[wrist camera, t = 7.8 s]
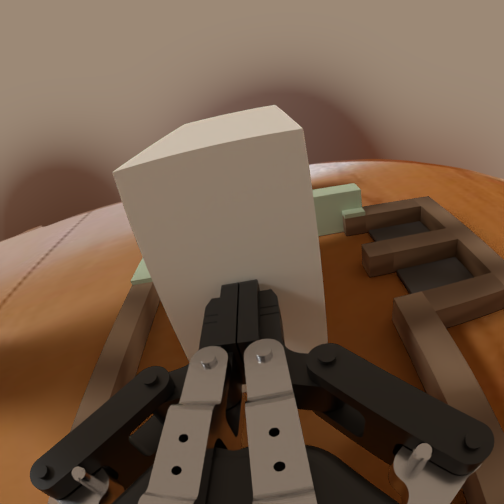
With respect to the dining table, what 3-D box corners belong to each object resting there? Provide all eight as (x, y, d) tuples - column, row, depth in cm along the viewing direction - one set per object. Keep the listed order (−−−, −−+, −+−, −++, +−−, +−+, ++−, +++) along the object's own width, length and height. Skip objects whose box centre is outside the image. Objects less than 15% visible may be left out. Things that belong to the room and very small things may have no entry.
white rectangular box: (330, 379, 17) (304, 128, 10) (205, 395, 17) (111, 172, 11) (301, 253, 29) (275, 104, 23) (222, 267, 29) (184, 124, 23)
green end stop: (384, 259, 25) (384, 214, 23) (140, 301, 27) (122, 263, 25) (357, 219, 32) (354, 183, 30) (160, 256, 34) (147, 222, 32)
